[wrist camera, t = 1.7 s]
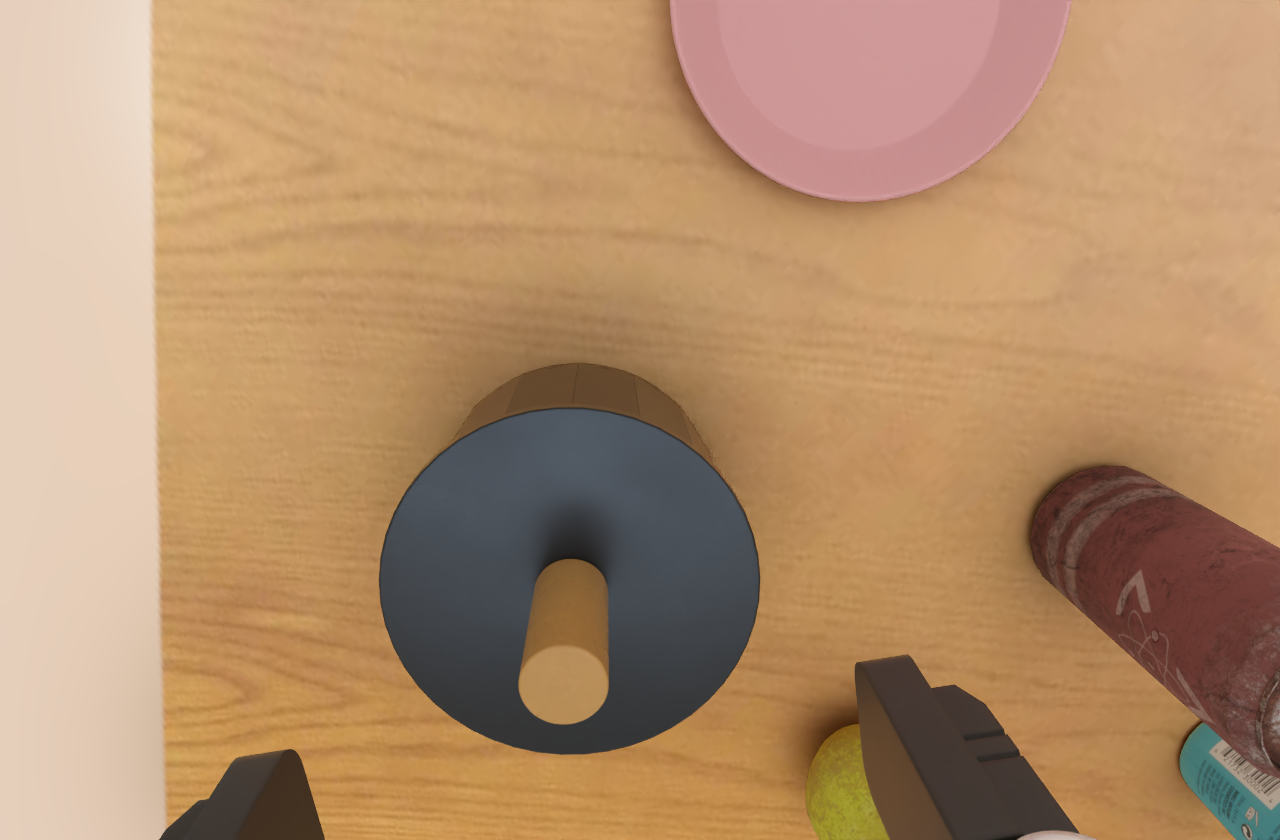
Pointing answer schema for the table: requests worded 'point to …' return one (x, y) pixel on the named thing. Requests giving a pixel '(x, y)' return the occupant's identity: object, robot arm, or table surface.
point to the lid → (569, 579)
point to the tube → (1231, 786)
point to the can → (1173, 596)
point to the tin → (586, 397)
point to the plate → (865, 85)
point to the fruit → (842, 791)
